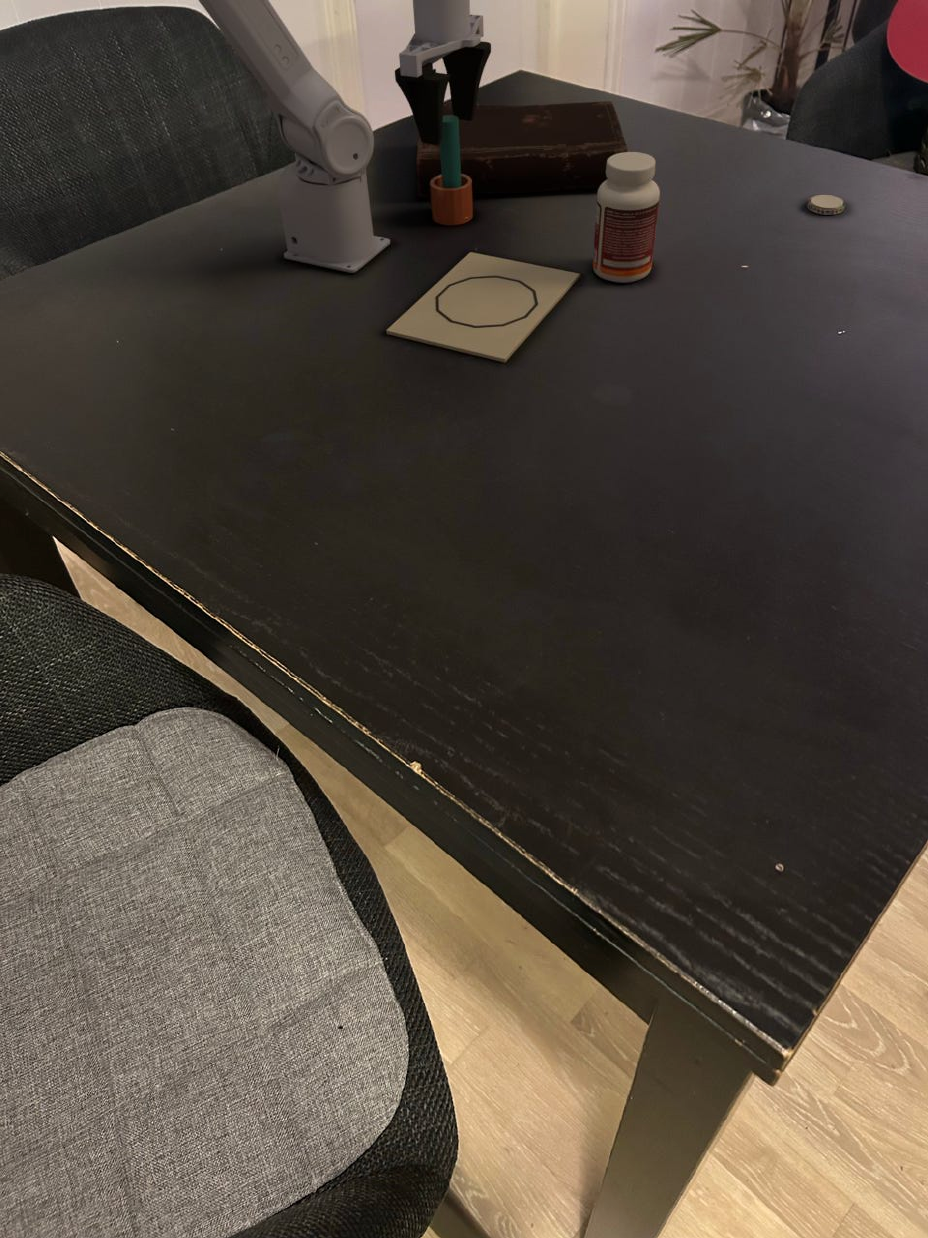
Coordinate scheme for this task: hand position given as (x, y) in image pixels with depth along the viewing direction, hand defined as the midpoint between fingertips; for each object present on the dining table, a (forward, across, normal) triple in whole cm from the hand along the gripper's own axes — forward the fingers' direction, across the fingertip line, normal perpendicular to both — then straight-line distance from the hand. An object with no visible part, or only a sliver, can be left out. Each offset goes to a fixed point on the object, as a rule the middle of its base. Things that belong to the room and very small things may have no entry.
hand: (447, 130), depth 97 cm
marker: (+9, 0, 0) cm, 9 cm away
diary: (+10, +16, -1) cm, 19 cm away
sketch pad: (+9, -17, -13) cm, 24 cm away
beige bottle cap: (+9, +18, -39) cm, 44 cm away
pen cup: (+9, 0, 0) cm, 9 cm away
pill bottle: (+10, -5, -23) cm, 25 cm away
